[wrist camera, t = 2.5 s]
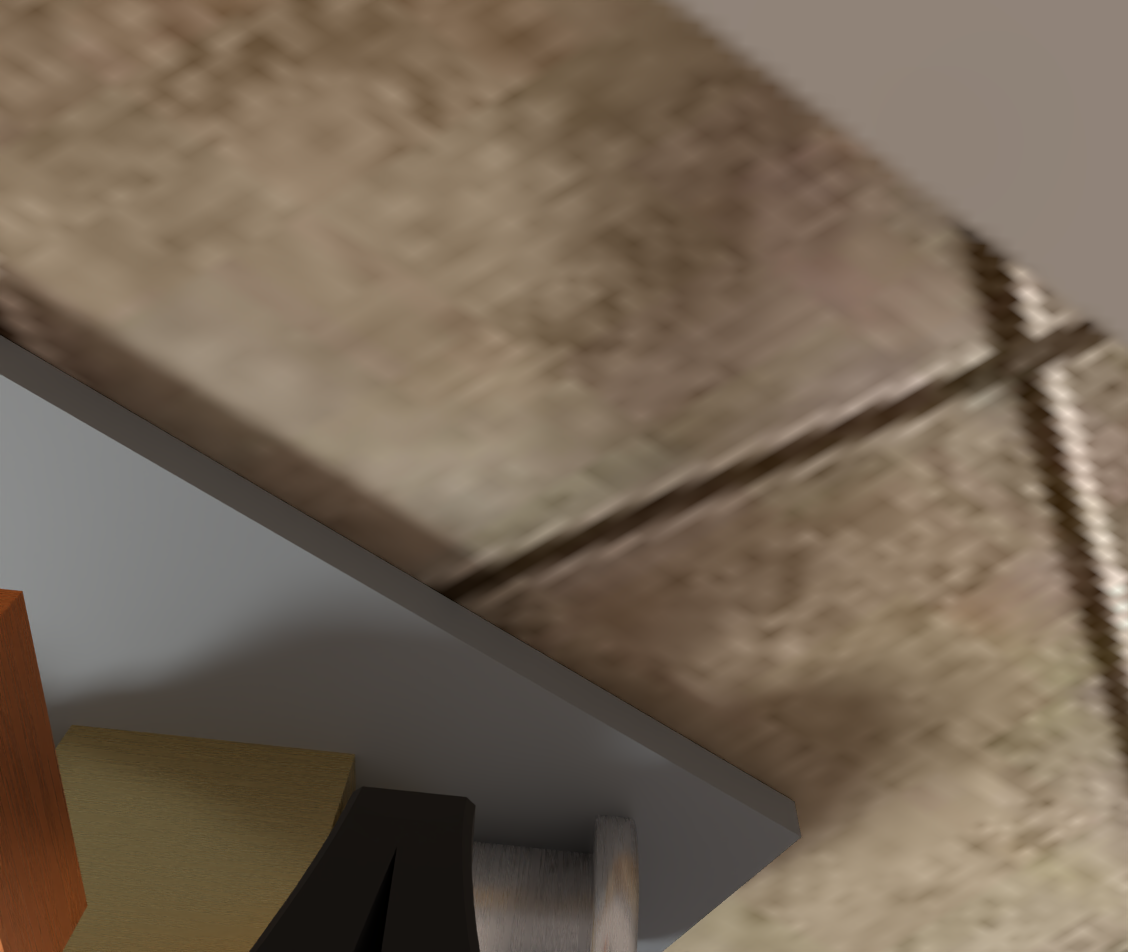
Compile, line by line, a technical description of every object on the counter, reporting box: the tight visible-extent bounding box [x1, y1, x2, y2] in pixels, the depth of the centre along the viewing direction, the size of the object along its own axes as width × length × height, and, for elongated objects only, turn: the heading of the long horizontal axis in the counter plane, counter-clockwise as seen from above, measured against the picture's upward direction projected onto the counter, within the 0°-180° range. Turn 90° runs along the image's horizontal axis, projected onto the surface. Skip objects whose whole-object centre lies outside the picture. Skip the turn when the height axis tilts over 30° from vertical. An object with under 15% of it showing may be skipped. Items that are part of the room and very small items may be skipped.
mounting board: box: [0, 335, 801, 952], centre depth 23 cm, size 20×16×1 cm
